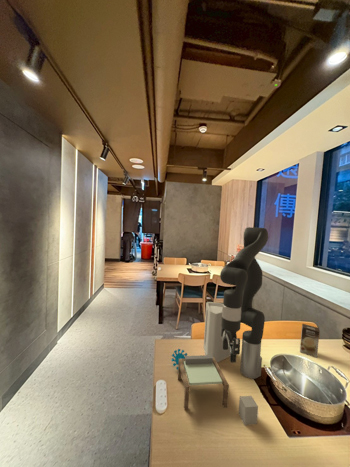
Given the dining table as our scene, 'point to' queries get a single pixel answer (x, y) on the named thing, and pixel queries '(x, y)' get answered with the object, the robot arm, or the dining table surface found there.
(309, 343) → the coffee box
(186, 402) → the stand
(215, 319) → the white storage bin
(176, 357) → the teal piece
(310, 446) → the dining table surface
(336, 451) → the dining table surface
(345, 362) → the dining table surface
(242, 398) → the small gray block
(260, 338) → the robot arm
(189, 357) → the trapdoor
